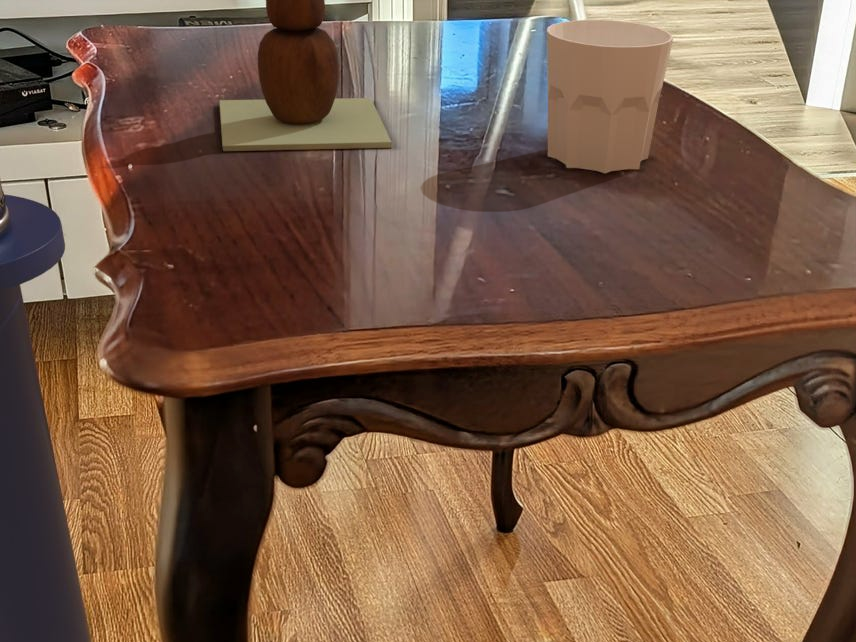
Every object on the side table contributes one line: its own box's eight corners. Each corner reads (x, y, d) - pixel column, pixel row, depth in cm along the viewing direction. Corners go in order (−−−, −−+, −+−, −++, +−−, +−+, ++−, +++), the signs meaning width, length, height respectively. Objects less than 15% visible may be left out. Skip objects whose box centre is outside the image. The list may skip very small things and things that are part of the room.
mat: (222, 151, 95) (222, 145, 94) (219, 105, 106) (219, 99, 106) (391, 147, 97) (391, 141, 97) (371, 103, 108) (370, 97, 108)
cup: (680, 169, 95) (697, 42, 90) (575, 181, 92) (586, 50, 86) (617, 135, 103) (630, 17, 97) (518, 146, 99) (525, 23, 93)
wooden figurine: (314, 106, 105) (307, -77, 96) (351, 121, 101) (346, -68, 93) (250, 117, 101) (236, -73, 93) (285, 133, 98) (274, -63, 89)
